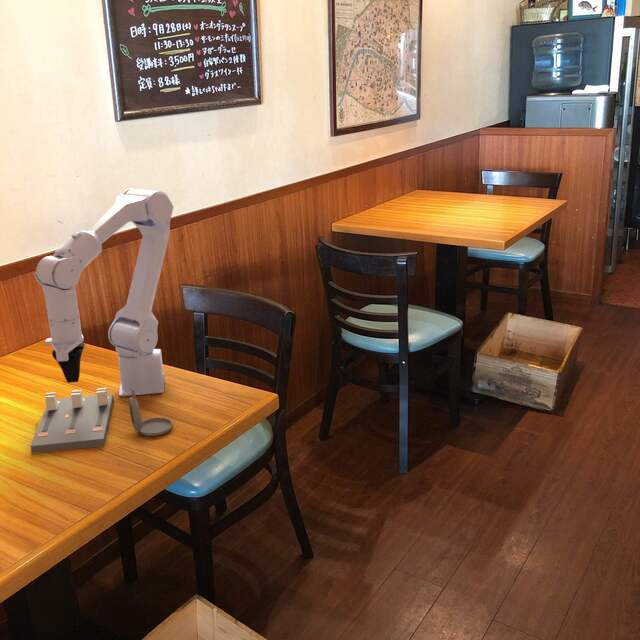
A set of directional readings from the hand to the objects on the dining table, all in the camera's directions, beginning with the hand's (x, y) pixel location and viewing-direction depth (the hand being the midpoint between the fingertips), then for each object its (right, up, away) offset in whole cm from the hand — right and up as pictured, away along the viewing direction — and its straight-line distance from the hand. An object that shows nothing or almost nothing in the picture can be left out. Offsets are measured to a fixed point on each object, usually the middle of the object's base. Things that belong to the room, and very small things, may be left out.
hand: (73, 381), depth 138 cm
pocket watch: (+16, -10, -3) cm, 19 cm away
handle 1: (-5, -6, +3) cm, 8 cm away
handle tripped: (0, -5, +3) cm, 6 cm away
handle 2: (+5, -5, +4) cm, 8 cm away
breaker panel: (+1, -9, -1) cm, 9 cm away
